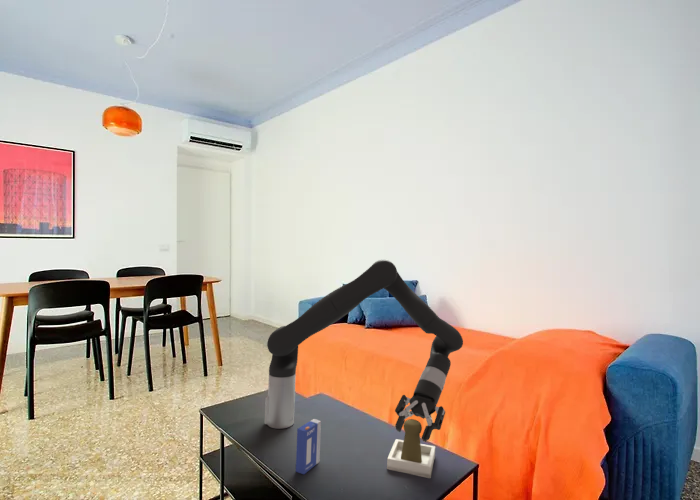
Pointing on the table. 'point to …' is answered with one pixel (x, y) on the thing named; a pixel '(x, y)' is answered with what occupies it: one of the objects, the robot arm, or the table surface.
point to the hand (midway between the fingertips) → (410, 435)
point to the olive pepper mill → (412, 441)
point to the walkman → (308, 446)
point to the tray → (408, 466)
